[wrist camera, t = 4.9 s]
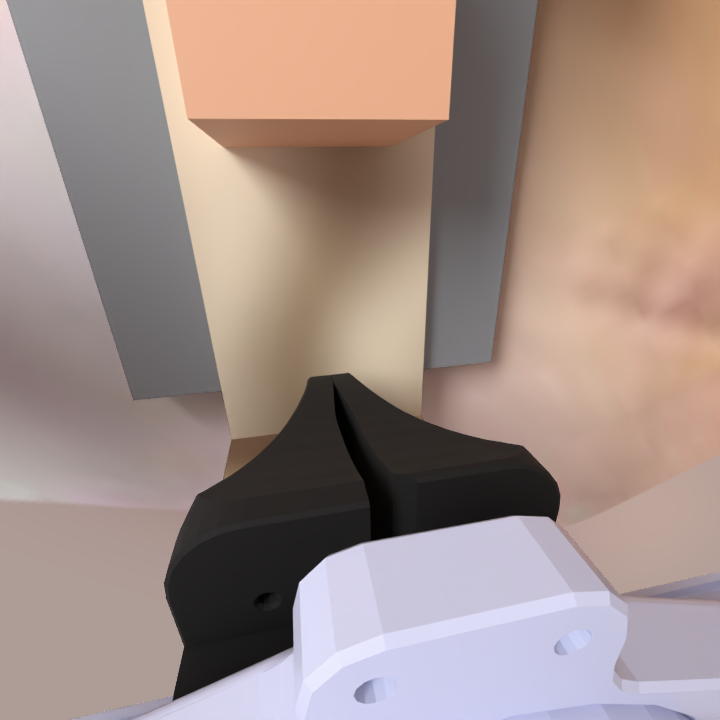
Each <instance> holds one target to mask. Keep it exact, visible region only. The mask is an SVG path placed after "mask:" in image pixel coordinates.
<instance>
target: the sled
mask: <svg viewBox="0 0 720 720" xmlns="http://www.w3.org/2000/svg"><path fill="white" fill-rule="evenodd" d="M143 5H144V10H145V15H146V20H147V25H148V30H149V35H150V40H151V45H152V50H153V55H154V60H155V64H156V69H157V74H158V79H159V84H160V89H161V94H162V99H163V104H164V109H165V114H166V119H167V124H168V128H169V133H170V138H171V143H172V148H173V153H174V158H175V163H176V168H177V173H178V178H179V183H180V188H181V192H182V197H183V202H184V207H185V212H186V217H187V222H188V227H189V232H190V237H191V242H192V247H193V252H194V257H195V261H196V266H197V271H198V276H199V281H200V286H201V291H202V296H203V301H204V306H205V311H206V316H207V321H208V325H209V330H210V335H211V340H212V345H213V350H214V355H215V360H216V365H217V370H218V375H219V380H220V385H221V389H222V394H223V399H224V404H225V409H226V414H227V419H228V424H229V429H230V434H231V439H232V440H231V445H230V450H229V454H228V459H227V464H226V468H225V473H224V477H223V480H224V479H226V478H227V477H229V476H230V475H232V474H233V473H235V472H236V471H238V470H239V469H240V468H242V467H243V466H245V465H246V464H247V463H249V462H250V461H251V460H252V459H254V458H255V457H256V456H257V455H258V454H259V453H261V452H262V451H263V450H264V449H265V448H266V447H267V446H268V445H269V444H270V443H271V442H272V441H273V440H274V439H275V437H276V436H277V435H278V434H279V433H280V431H281V430H282V429H283V427H284V426H285V425H286V423H287V422H288V420H289V419H290V417H291V416H292V414H293V413H294V411H295V409H296V408H297V406H298V404H299V402H300V400H301V398H302V396H303V393H304V391H305V388H306V385H307V380H308V379H309V378H310V377H315V376H324V375H333V374H343V373H350V374H351V375H353V376H354V377H355V378H356V379H357V380H359V381H360V382H361V383H362V384H364V385H365V386H366V387H367V388H369V389H370V390H371V391H373V392H374V393H375V394H377V395H378V396H380V397H381V398H383V399H384V400H386V401H387V402H389V403H390V404H392V405H394V406H395V407H397V408H399V409H400V410H402V411H404V412H406V413H408V414H410V415H412V416H414V417H417V418H419V419H421V420H423V418H422V416H421V404H422V384H423V363H424V343H425V322H426V302H427V282H428V261H429V241H430V221H431V200H432V180H433V159H434V139H435V126H434V127H432V128H430V129H428V130H425V131H423V132H421V133H419V134H417V135H415V136H413V137H410V138H408V139H406V140H404V141H402V142H400V143H398V144H395V145H393V146H363V147H231V148H224V147H222V146H221V145H220V144H218V143H217V142H216V141H215V140H213V139H212V138H211V137H210V136H208V135H207V134H206V133H205V132H203V131H202V130H201V129H200V128H198V127H197V126H196V125H195V124H193V123H192V122H191V121H190V120H188V119H187V114H186V109H185V103H184V98H183V93H182V87H181V82H180V76H179V71H178V65H177V60H176V54H175V49H174V44H173V38H172V33H171V27H170V22H169V16H168V11H167V5H166V0H143ZM423 421H424V420H423Z"/></svg>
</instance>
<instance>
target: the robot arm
mask: <svg viewBox="0 0 720 720" xmlns="http://www.w3.org/2000/svg"><path fill="white" fill-rule="evenodd" d="M559 505H560V492H559V488H558V484H557V482H556V481H555V480H554V478H553V477H552V476H551V474H550V473H549V472H548V471H547V470H546V469H545V468H544V467H543V466H542V465H541V464H540V463H539V462H538V461H537V460H536V459H535V458H534V457H533V455H532V454H531V453H530V452H529V451H528V450H527V449H525V448H524V447H523V446H521V445H515V444H508V443H502V442H496V441H490V440H485V439H480V438H476V437H472V436H468V435H464V434H460V433H457V432H454V431H450V430H447V429H444V428H442V427H439V426H436V425H433V424H430V423H428V422H426V421H423V420H421V419H419V418H417V417H414V416H412V415H410V414H408V413H406V412H404V411H402V410H400V409H399V408H397V407H395V406H394V405H392V404H390V403H389V402H387V401H386V400H384V399H383V398H381V397H380V396H378V395H377V394H375V393H374V392H373V391H371V390H370V389H369V388H367V387H366V386H365V385H364V384H362V383H361V382H360V381H359V380H357V379H356V378H355V377H354V376H353V375H351V374H350V373H343V374H333V375H324V376H315V377H310V378H309V379H308V380H307V385H306V388H305V391H304V393H303V396H302V398H301V400H300V402H299V404H298V406H297V408H296V409H295V411H294V413H293V414H292V416H291V417H290V419H289V420H288V422H287V423H286V425H285V426H284V427H283V429H282V430H281V431H280V433H279V434H278V435H277V436H276V437H275V439H274V440H273V441H272V442H271V443H270V444H269V445H268V446H267V447H266V448H265V449H264V450H263V451H262V452H261V453H259V454H258V455H257V456H256V457H255V458H254V459H252V460H251V461H250V462H249V463H247V464H246V465H245V466H243V467H242V468H240V469H239V470H238V471H236V472H235V473H233V474H232V475H230V476H229V477H227V478H226V479H224V480H222V481H221V482H219V483H217V484H215V485H214V486H212V487H210V488H209V489H207V490H205V491H203V492H202V493H200V494H198V495H197V496H196V498H195V500H194V502H193V504H192V506H191V508H190V510H189V512H188V515H187V517H186V519H185V521H184V523H183V525H182V527H181V529H180V532H179V535H178V537H177V540H176V543H175V547H174V550H173V553H172V557H171V560H170V563H169V567H168V570H167V574H166V578H165V582H164V586H165V593H166V599H167V602H168V604H169V607H170V610H171V612H172V615H173V617H174V620H175V623H176V626H177V628H178V631H179V634H180V636H181V639H182V642H183V644H184V650H183V655H182V659H181V664H180V668H179V673H178V677H177V682H176V686H175V691H174V695H173V696H171V697H166V698H162V699H158V700H153V701H149V702H144V703H140V704H135V705H131V706H127V707H123V708H118V709H114V710H109V711H105V712H100V713H96V714H92V715H87V716H83V717H78V718H74V719H70V720H720V572H715V573H711V574H706V575H702V576H698V577H693V578H689V579H685V580H680V581H676V582H672V583H667V584H663V585H658V586H654V587H649V588H645V589H641V590H636V591H632V592H628V593H623V594H618V592H617V591H616V590H615V589H614V587H613V586H612V585H611V584H610V583H609V581H608V580H607V579H606V578H605V577H604V575H603V574H602V573H601V572H600V571H599V570H598V568H597V567H596V566H595V565H594V564H593V562H592V561H591V560H590V559H589V558H588V557H587V555H586V554H585V553H584V552H583V551H582V549H581V548H580V547H579V546H578V545H577V543H576V542H575V541H574V540H573V539H572V537H571V536H570V535H569V534H568V533H567V532H566V531H565V530H564V529H563V528H562V527H560V526H559V525H558V524H557V523H556V519H557V515H558V511H559Z"/></svg>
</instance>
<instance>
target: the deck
mask: <svg viewBox="0 0 720 720" xmlns="http://www.w3.org/2000/svg"><path fill="white" fill-rule="evenodd" d="M6 1H7V4H8V7H9V10H10V13H11V17H12V20H13V23H14V26H15V29H16V32H17V35H18V39H19V42H20V45H21V48H22V51H23V54H24V57H25V61H26V64H27V67H28V70H29V73H30V76H31V79H32V83H33V86H34V89H35V92H36V95H37V98H38V101H39V105H40V108H41V111H42V114H43V117H44V120H45V124H46V127H47V130H48V133H49V136H50V139H51V142H52V146H53V149H54V152H55V155H56V158H57V161H58V164H59V168H60V171H61V174H62V177H63V180H64V183H65V186H66V190H67V193H68V196H69V199H70V202H71V205H72V208H73V212H74V215H75V218H76V221H77V224H78V227H79V230H80V234H81V237H82V240H83V243H84V246H85V249H86V252H87V256H88V259H89V262H90V265H91V268H92V271H93V274H94V278H95V281H96V284H97V287H98V290H99V293H100V296H101V300H102V303H103V306H104V309H105V312H106V315H107V319H108V322H109V325H110V328H111V331H112V334H113V337H114V341H115V344H116V347H117V350H118V353H119V356H120V359H121V363H122V366H123V369H124V372H125V375H126V378H127V381H128V385H129V388H130V391H131V394H132V397H133V400H141V399H150V398H160V397H169V396H178V395H188V394H197V393H206V392H216V391H222V389H221V385H220V380H219V375H218V370H217V365H216V360H215V355H214V350H213V345H212V340H211V335H210V330H209V325H208V321H207V316H206V311H205V306H204V301H203V296H202V291H201V286H200V281H199V276H198V271H197V266H196V261H195V257H194V252H193V247H192V242H191V237H190V232H189V227H188V222H187V217H186V212H185V207H184V202H183V197H182V192H181V188H180V183H179V178H178V173H177V168H176V163H175V158H174V153H173V148H172V143H171V138H170V133H169V128H168V124H167V119H166V114H165V109H164V104H163V99H162V94H161V89H160V84H159V79H158V74H157V69H156V64H155V60H154V55H153V50H152V45H151V40H150V35H149V30H148V25H147V20H146V15H145V10H144V5H143V0H6ZM537 4H538V0H456V10H455V26H454V43H453V59H452V75H451V91H450V108H449V120H447V121H445V122H443V123H441V124H438V125H436V126H435V139H434V159H433V180H432V200H431V221H430V241H429V261H428V282H427V302H426V322H425V343H424V363H423V369H431V368H440V367H450V366H459V365H469V364H478V363H487V362H491V356H492V349H493V341H494V333H495V326H496V318H497V310H498V303H499V295H500V287H501V280H502V272H503V264H504V257H505V249H506V242H507V234H508V226H509V219H510V211H511V203H512V196H513V188H514V180H515V173H516V165H517V157H518V150H519V142H520V134H521V127H522V119H523V111H524V104H525V96H526V88H527V81H528V73H529V65H530V58H531V50H532V43H533V35H534V27H535V20H536V12H537Z"/></svg>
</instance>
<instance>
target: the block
mask: <svg viewBox="0 0 720 720" xmlns="http://www.w3.org/2000/svg"><path fill="white" fill-rule="evenodd" d="M166 5H167V11H168V16H169V22H170V27H171V33H172V38H173V44H174V49H175V54H176V60H177V65H178V71H179V76H180V82H181V87H182V93H183V98H184V103H185V109H186V114H187V119H188V120H190V121H191V122H192V123H193V124H195V125H196V126H197V127H198V128H200V129H201V130H202V131H203V132H205V133H206V134H207V135H208V136H210V137H211V138H212V139H213V140H215V141H216V142H217V143H218V144H220V145H221V146H222V147H224V148H231V147H363V146H393V145H395V144H398V143H400V142H402V141H404V140H406V139H408V138H410V137H413V136H415V135H417V134H419V133H421V132H423V131H425V130H428V129H430V128H432V127H434V126H436V125H438V124H441V123H443V122H445V121H447V120H449V108H450V91H451V75H452V59H453V43H454V26H455V10H456V0H166Z"/></svg>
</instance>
